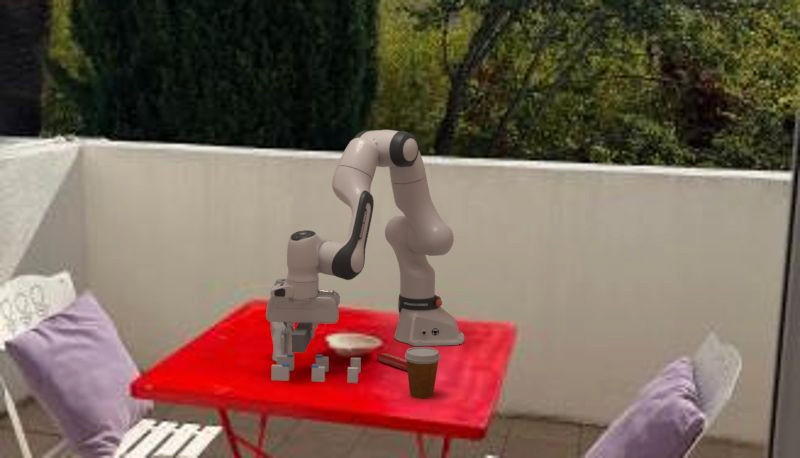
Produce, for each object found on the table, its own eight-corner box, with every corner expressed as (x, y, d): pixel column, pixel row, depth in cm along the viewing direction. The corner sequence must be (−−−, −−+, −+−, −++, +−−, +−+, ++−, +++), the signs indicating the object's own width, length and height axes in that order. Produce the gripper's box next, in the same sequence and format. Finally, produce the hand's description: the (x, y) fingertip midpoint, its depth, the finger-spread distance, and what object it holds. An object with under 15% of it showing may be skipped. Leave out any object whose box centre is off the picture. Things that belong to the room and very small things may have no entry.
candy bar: (420, 372, 294) (420, 362, 293) (411, 375, 291) (411, 364, 291) (383, 359, 305) (383, 349, 305) (373, 361, 303) (374, 352, 302)
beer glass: (290, 363, 299) (290, 314, 296) (267, 361, 300) (267, 312, 297) (297, 356, 305) (297, 308, 303) (274, 355, 307) (274, 306, 304)
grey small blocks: (360, 371, 293) (360, 355, 292) (357, 382, 283) (357, 367, 282) (277, 368, 294) (277, 353, 293) (271, 380, 284) (271, 364, 283)
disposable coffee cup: (402, 388, 279) (403, 346, 276) (437, 388, 279) (438, 346, 277) (405, 400, 269) (406, 356, 267) (441, 400, 270) (442, 356, 268)
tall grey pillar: (312, 336, 295) (312, 320, 294) (304, 352, 279) (304, 335, 278) (300, 336, 295) (300, 319, 294) (291, 352, 279) (291, 334, 278)
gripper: (341, 288, 287) (340, 335, 289) (268, 285, 288) (268, 333, 290) (338, 293, 281) (338, 341, 283) (264, 290, 281) (264, 339, 284)
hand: (302, 337), depth 287 cm, fingers closed on tall grey pillar, 3 cm apart
